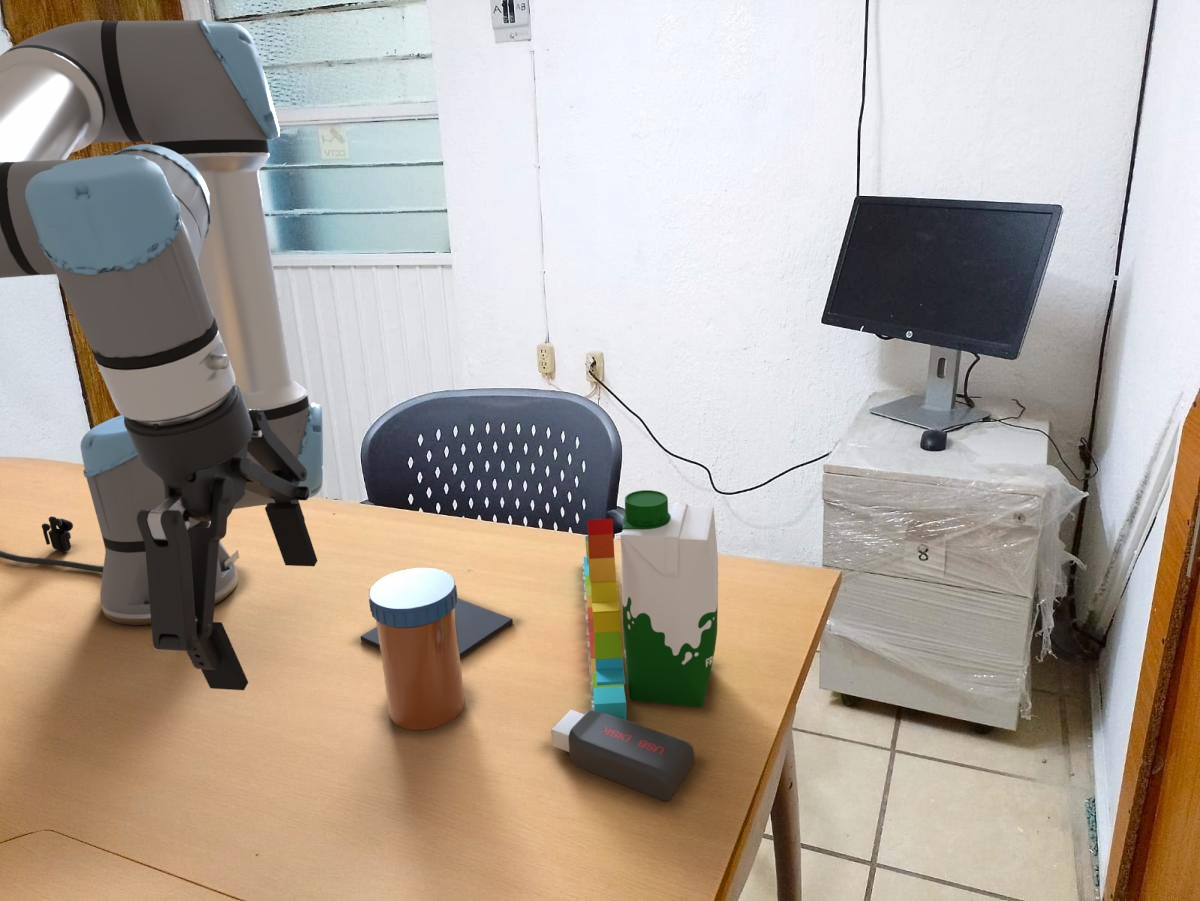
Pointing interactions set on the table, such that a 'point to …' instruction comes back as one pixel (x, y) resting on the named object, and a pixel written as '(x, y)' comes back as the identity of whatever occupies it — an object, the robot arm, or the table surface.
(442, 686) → the jar
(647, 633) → the milk carton
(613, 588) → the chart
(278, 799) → the table surface
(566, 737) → the usb drive
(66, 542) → the wireless earbuds
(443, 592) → the lid
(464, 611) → the mat
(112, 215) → the robot arm
